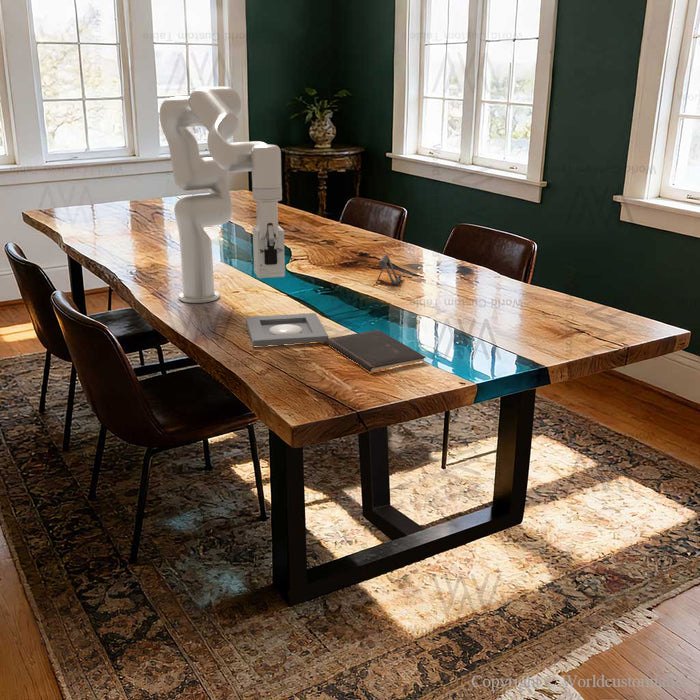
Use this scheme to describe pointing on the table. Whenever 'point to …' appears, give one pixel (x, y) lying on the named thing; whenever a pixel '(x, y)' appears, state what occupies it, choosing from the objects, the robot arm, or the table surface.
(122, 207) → the table surface
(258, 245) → the supplement box
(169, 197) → the table surface
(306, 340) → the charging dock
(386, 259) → the portable electronic device stand
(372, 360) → the hardcover book
